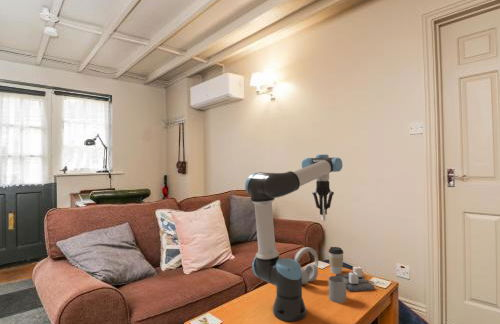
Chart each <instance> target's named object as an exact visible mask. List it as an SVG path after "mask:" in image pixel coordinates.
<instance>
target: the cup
mask: <svg viewBox="0 0 500 324" xmlns="http://www.w3.org/2000/svg"><path fill="white" fill-rule="evenodd" d="M328 299H329V301H331V302H333V303H335V304H344V303H346V302H347V289H346V279H345V278H343V277H341V276H336V275H331V276H329V277H328Z"/></svg>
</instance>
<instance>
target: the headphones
mask: <svg viewBox="0 0 500 324" xmlns="http://www.w3.org/2000/svg"><path fill="white" fill-rule="evenodd" d="M307 252H309V253H311V255H312V256H313V257H314V264H313V263H308V264H306V265H305V266H304V268H303V267H302V266H301V271H302V285H306V284H307V283H308V282H314V281H315V280H316V279H317V278H318V273H319V269H318V266H319V257H318V253H317V251H316V250H315V249H314V248H312V247H309V246H307V247H302V248H300V249H299V250H298V251H297V252H296V253H295V256H294V258H293V260H295V261H297V262H298V263H299V262H300V259H301V257H302V256H303V255H304V254H305V253H307Z"/></svg>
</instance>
